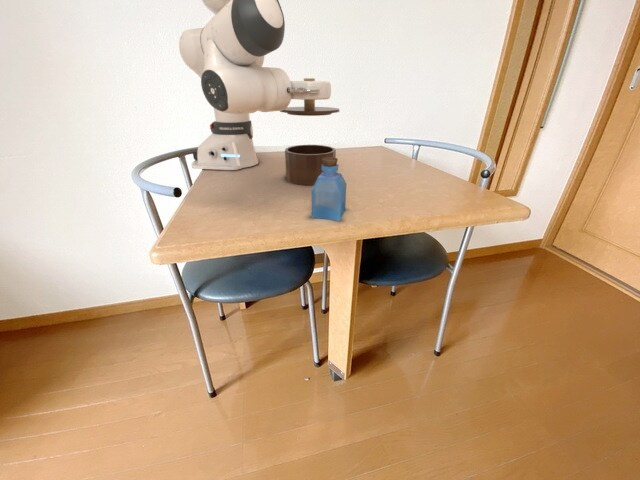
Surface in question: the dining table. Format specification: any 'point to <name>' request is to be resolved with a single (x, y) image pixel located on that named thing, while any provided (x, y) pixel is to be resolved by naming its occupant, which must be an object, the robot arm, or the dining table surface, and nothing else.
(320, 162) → the dark brown pot
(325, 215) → the perfume bottle
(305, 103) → the lid
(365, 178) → the dining table surface
